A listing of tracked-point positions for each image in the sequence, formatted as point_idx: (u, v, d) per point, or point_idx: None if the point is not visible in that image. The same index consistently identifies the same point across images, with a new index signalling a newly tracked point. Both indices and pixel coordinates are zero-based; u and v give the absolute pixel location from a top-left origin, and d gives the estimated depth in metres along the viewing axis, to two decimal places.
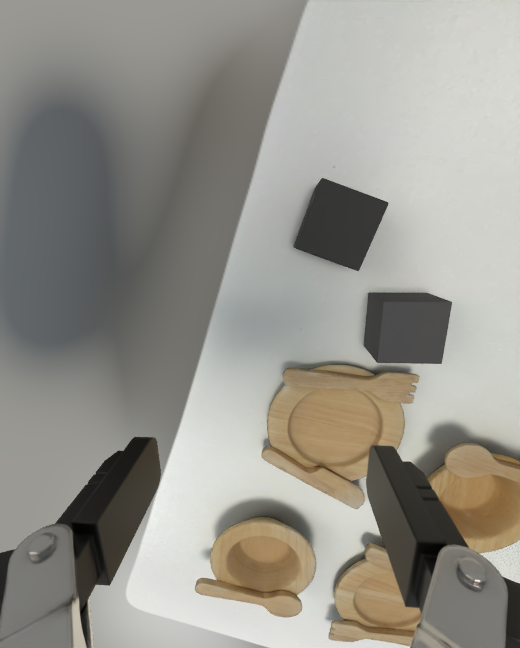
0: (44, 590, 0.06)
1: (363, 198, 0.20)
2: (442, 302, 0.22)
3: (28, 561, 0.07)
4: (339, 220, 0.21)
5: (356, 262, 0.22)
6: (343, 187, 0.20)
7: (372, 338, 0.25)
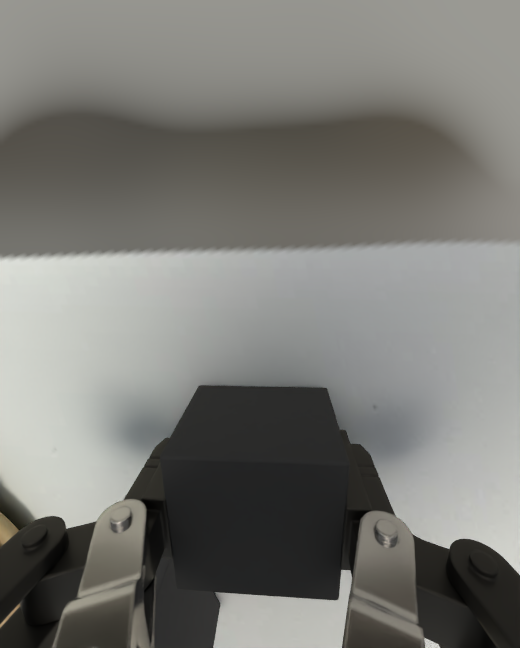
0: (133, 554, 0.07)
1: (331, 557, 0.08)
2: None
3: (110, 528, 0.07)
4: (264, 527, 0.08)
5: (191, 582, 0.09)
6: (342, 515, 0.08)
7: None
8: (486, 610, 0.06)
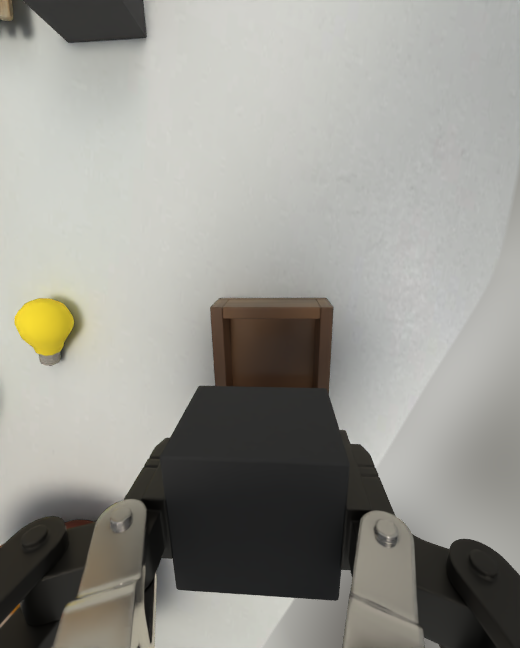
0: (133, 554, 0.07)
1: (331, 557, 0.08)
2: None
3: (110, 528, 0.07)
4: (264, 527, 0.08)
5: (191, 582, 0.09)
6: (342, 515, 0.08)
7: None
8: (486, 610, 0.06)
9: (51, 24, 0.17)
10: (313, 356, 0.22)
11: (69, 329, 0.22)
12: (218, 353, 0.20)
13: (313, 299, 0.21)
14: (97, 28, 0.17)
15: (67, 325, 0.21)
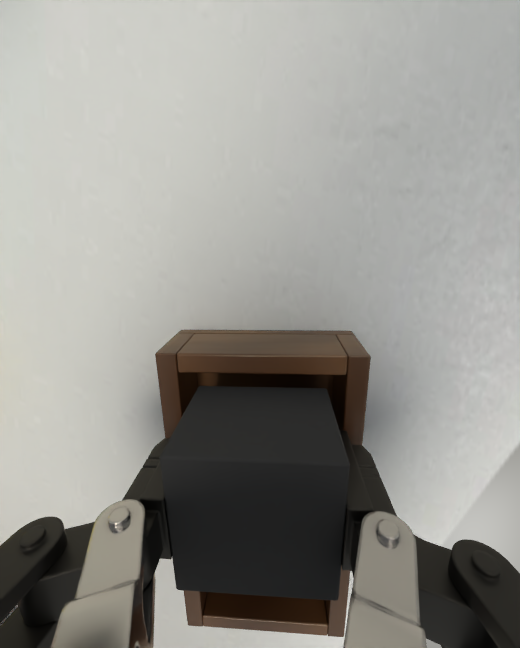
0: (131, 555, 0.07)
1: (331, 557, 0.08)
2: None
3: (108, 529, 0.07)
4: (264, 528, 0.08)
5: (191, 582, 0.09)
6: (342, 515, 0.08)
7: None
8: (488, 611, 0.06)
9: None
10: None
11: None
12: (172, 428, 0.12)
13: (331, 334, 0.13)
14: None
15: None
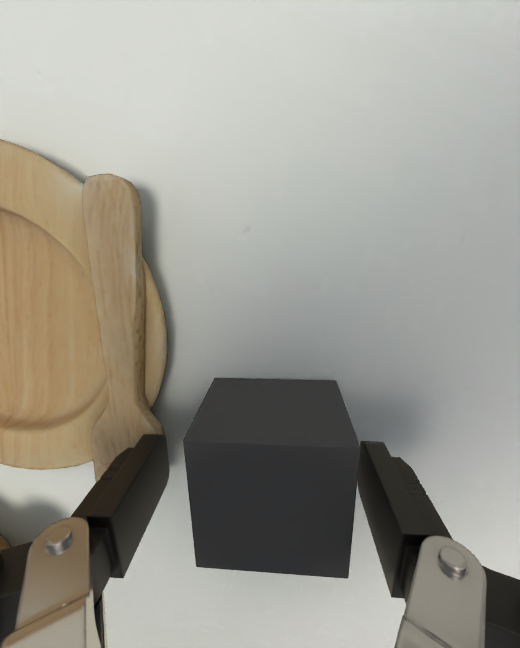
0: (64, 580, 0.06)
1: None
2: (348, 562, 0.09)
3: (47, 552, 0.07)
4: None
5: None
6: None
7: (243, 409, 0.10)
8: None
9: None
10: None
11: None
12: None
13: None
14: None
15: None
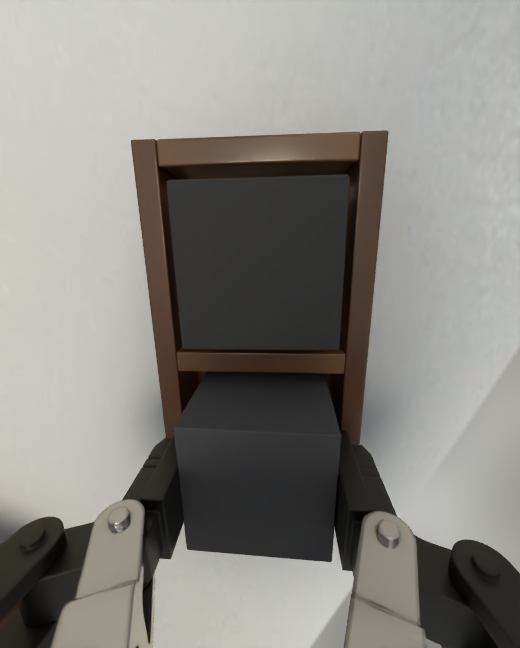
0: (131, 555, 0.07)
1: (332, 294, 0.09)
2: (331, 546, 0.10)
3: (107, 529, 0.07)
4: (267, 261, 0.08)
5: (196, 337, 0.09)
6: (342, 238, 0.08)
7: (232, 400, 0.10)
8: (488, 611, 0.06)
9: None
10: None
11: None
12: (153, 245, 0.10)
13: None
14: None
15: None
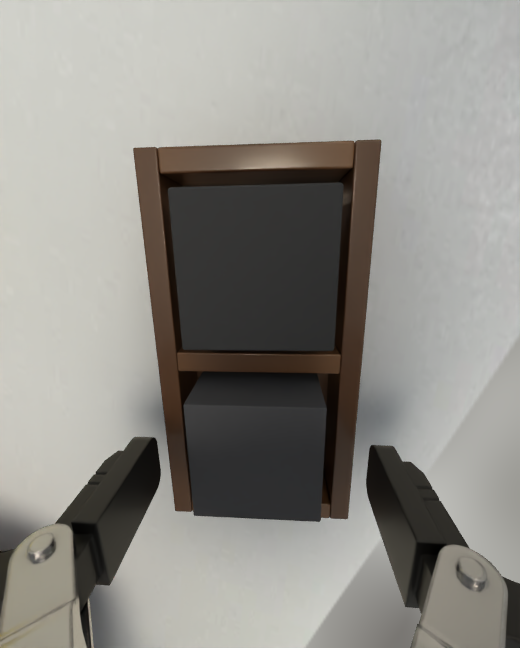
0: (44, 590, 0.06)
1: (327, 297, 0.09)
2: (319, 507, 0.11)
3: (29, 561, 0.07)
4: (264, 265, 0.09)
5: (196, 338, 0.10)
6: (336, 243, 0.09)
7: (233, 383, 0.12)
8: None
9: None
10: None
11: None
12: (154, 249, 0.10)
13: None
14: None
15: None
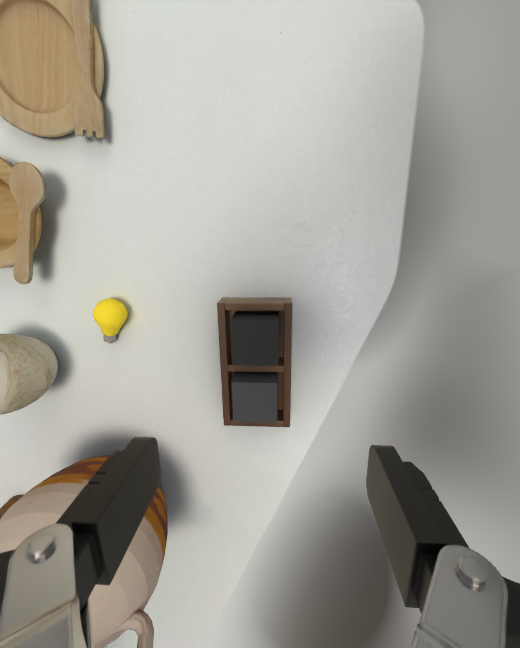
0: (44, 590, 0.06)
1: (275, 350, 0.31)
2: (276, 417, 0.33)
3: (29, 560, 0.07)
4: (257, 341, 0.31)
5: (236, 361, 0.31)
6: (277, 335, 0.30)
7: (247, 375, 0.34)
8: None
9: None
10: (283, 335, 0.34)
11: (125, 318, 0.34)
12: (222, 332, 0.32)
13: (282, 298, 0.33)
14: None
15: (125, 316, 0.34)
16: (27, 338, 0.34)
